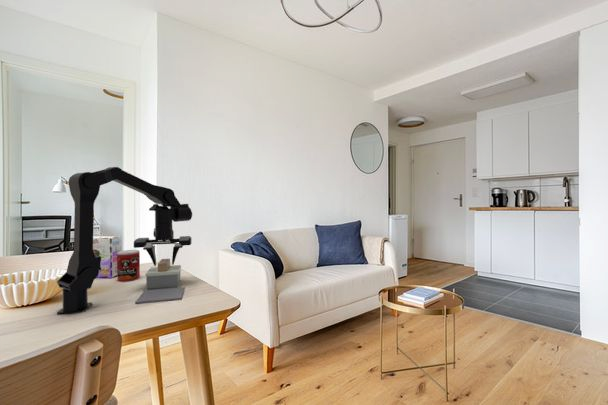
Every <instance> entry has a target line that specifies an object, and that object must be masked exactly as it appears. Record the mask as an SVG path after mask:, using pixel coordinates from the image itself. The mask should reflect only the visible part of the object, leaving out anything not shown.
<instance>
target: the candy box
mask: <svg viewBox="0 0 608 405" xmlns="http://www.w3.org/2000/svg"><path fill="white" fill-rule="evenodd" d="M119 251H122V250H121V236H120V235H119V236H118V235H115V236H114V235H113V236H112V235H110V236H109V235H108V236H107V235H99V236H98V235H93V252H94V254H95V255H96V256H101V263H100V267H101V269H102V270H99V274H98V276H97V277H96V278H97V279H98V278H99V279H112V278H115V277H117V252H119ZM96 278H95V279H96Z"/></svg>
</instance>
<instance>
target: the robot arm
mask: <svg viewBox="0 0 608 405" xmlns="http://www.w3.org/2000/svg"><path fill="white" fill-rule="evenodd" d="M111 182H116V183H118V184H120V185H123V186H124V187H127V188H129V189H132V190H133V191H136V192H138V193H140V194H143V195H144V196H146V198H147V199H148V200H150V201H152V202H153V205H152V206H151V207H150V208H149V209H148V210H149V211H152V212H154V228H153V237H154V239H150V237H138V238H136V239H135V240H134V241H133V248H135V249H137V248H142V250H144V251H146V252H147V254H148V255H149V257H150V259H151V261H152V263H153V265H154V266H153V267H157V255H156V245H173V244H174V246H173V249H172V259H171V264H172V265H171V266H174V265H175V262H176V258H177V254H178V252H179V250H180V249H182V248H183V247H184V246H191V244H192V240H193V239H192V236H190V235H185V236H183V235H182V236H179V238H174V235H175V234H174V229H173V222H189V221H191V220H192V218H193V210H192V209H191V207H190V206H189V203H180V201H179V199H178V198H177V197H176V194H175V191H174V190H172V189H171V188H169V187H166V186H165V187H164V186H161V185H155V184H152V183H150V182H148V181H146V180H143V179H142V178H140V177H138V176H135V175H134V174H132V173H129V172H128V171H125V170H123V169H122V168H120V167H118V166H111V167H107V168H104V169H100V170H97V171H92V172H91V171H86V172H76V173H75V174H72V175H71V176H70V177H69V178H68V186H69V187H68V188H69V192H70V195H71V197H72V200H73V202H74V223H73V225H74V226H73V227H74V228H73V251H72V254H71V255H70V257H69V260H68V264H67V269H66V272H65V273H63V275H61V277H60V278H59V279H58V280H57V281H56V283H57V286H58V287H59V288H60V289H62V290H61V292H62V293H61V294H62V308H61V309H60V310H58V311H56V312H57V313H56V314H57V315H63V314H73V313H81V312H82V313H84V312H86V310H88V309H89V307H91V306H92V305H93V302H88V296H89V295H88V290H90V289H92V286H93V284H94V281H95V279H96V277H97V276H98V274H99V270H102V269H101V267H100V263H101V256H96V255H95V254H94V252H93V236H94V216H95V215H94V214H95V202H96V200H97V198H98V196H99V192H100V190H101V189H100V187H101V186H103V185H105V184H109V183H111Z"/></svg>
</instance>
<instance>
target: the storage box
mask: <svg viewBox="0 0 608 405" xmlns="http://www.w3.org/2000/svg"><path fill="white" fill-rule="evenodd" d="M145 278H146V279H145V281H146V287H145V288H146V290H154V289H166V288H178V287H180V282H181V270H180V271H179V273H178V274H174V275H160V276H146V275H145Z"/></svg>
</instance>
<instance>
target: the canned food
mask: <svg viewBox="0 0 608 405" xmlns="http://www.w3.org/2000/svg"><path fill="white" fill-rule="evenodd" d="M140 254H141V253H140V250H139V249H127V250H121V251H119V252H117V276H116V277H117V281H118V282H132V281H136V280H138V279H139V278H140V274H141V273H140V272H141V270H140V259H141V258H140Z"/></svg>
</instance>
